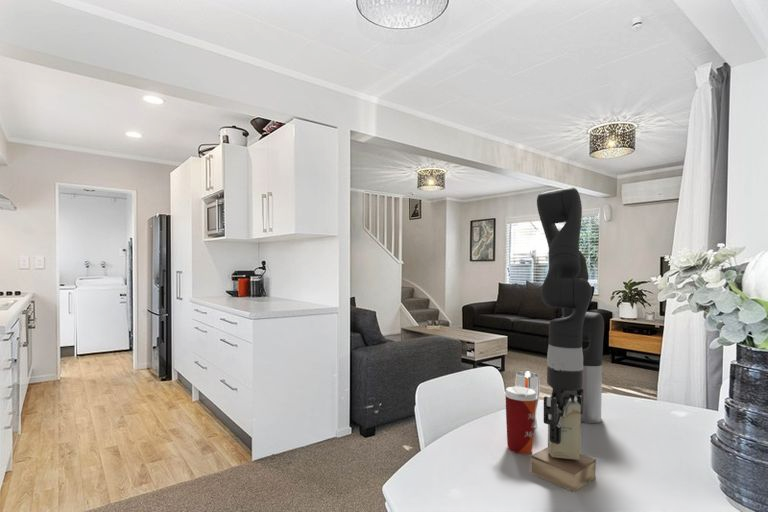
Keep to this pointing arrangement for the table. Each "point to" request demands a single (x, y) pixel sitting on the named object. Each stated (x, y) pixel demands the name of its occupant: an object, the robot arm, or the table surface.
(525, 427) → the coffee cup
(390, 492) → the table surface
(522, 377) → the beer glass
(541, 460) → the pedestal
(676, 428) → the table surface
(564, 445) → the skincare box
